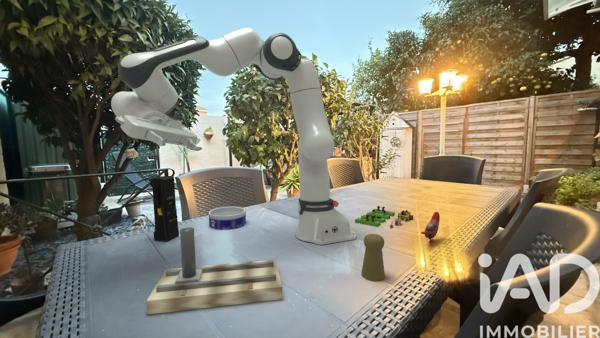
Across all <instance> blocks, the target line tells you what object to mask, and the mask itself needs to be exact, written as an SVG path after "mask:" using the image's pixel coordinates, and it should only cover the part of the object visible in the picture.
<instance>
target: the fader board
mask: <svg viewBox="0 0 600 338" xmlns="http://www.w3.org/2000/svg"><path fill="white" fill-rule="evenodd" d="M196 269H202V276H201V278H200V281H199V282H189V283H179V284H175V281H176V279H177V277H178V275H179V273H180V271H182V267H176V268H173V267H172V268H166V269H165V270H164V272H163V274H162V275H161V277H160V278H159V279H158V282H157V283H156V285H155V286H154V288H153V290H152V291H151V293H150V295H149V296H148V297H147V299H146V301H145V303H146V315H157V314H164V313H174V312H182V311H189V310H190V311H191V310H200V309H207V308H216V307H217V306H218V307H226V306H234V305H242V304H252V303H260V302H268V301H269V302H270V301H279V300H283V286H282V281H281V277H280V273H279V269H278V264H277V260H276V259H268V260H257V261H244V262H232V263H231V262H230V263H222V264H209V265H198V266H197V265H196ZM218 307H217V308H218Z"/></svg>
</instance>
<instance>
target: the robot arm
mask: <svg viewBox="0 0 600 338" xmlns="http://www.w3.org/2000/svg"><path fill="white" fill-rule="evenodd" d="M189 60H191V61H195V62H198V63H199V64H201V66H204V67H205V68H206V69H207V70H208V71H210V73H212V74H214V75H217V76H220V77H227V76H228V77H230V76H231V75H234V74H235V73H237V72H240V70H243V69H244V68H246V67H248V66H250V65H253V67H254V68H255V69H256V70H257V71H258V72H260V74H261V75H262V76H263V77H265V78H266V79H268V80H271V81H275V80H279V79H281V78H284V79H285V81H286V82H287V84H288V85H287V86H288V89H289V90H288V91H289V97H290V102H291V107H292V112H293V113H292V114H293V118H294V121H295V125H296V129H297V133H298V136H299V139H298V141H297V156H298V159H297V160H298V172H299V173H298V174H299V197H298V203H297V204H298V205H297V209H298V222H297V228H296V232H295V238H297V239H298V240H300V241H304V242H308V243H313V244H316V245H320V246H321V245H328V244H333V243H339V242H346V241H347V242H348V241H354V240H357V233H356V232H355V230H353V229H352V228H351V225H350V222H349V219H348V218H347V217H346V215H344V214H343V213H341V212H340V211H339V210H337V209H336V208H338V207H339V201H337V200H334V199H333V198H331V197H330V194H331V193H330V191H331V190H330V189H331V187H330V186H331V183H330V182H331V177H330V172H329V166H328V164H329V163H328V160H329V159H330V158H331V156H332V155H333V154H334V151H335V141H334V139H333V135H332V132H331V128H330V124H329V121H328V119H327V114H326V111H325V106H324V100H323V94H322V93H323V92H322V89H321V83H320V78H319V75H318V73H317V72H318V71H317V70H316V65H315V64H314V62H313V61H312V60H310V59H307V58H302V53H301V51H300V50H299V49H298V47H297V45H296V43H295V41H294V40H293V38H292V37H291V36H289V35H288V34H287V33H284V32H277V33H273V34H272V35H269V37H267V39H265V40H263V39H262V38H261V35H260V34H259V33H258V32H257V31H256V30H255V29H253V28H252V27H243V28H240V29H237V30H234V31H231V32H229V33H227V34H225V35H222V36H220V37H219V38H218V37H217V38H215V39H206V38H205V37H203V36H195V37H190V38H186V39H182V40H178V41H175V42H172V43H169V44H166V45H163V46H159V47H156V48H153V49H149V50H145V51H144V50H143V51H137V52H132V53H130V54H126V55H125V56H123V57H122V58H121V59H120V60H119V64H118V69H117V71H118V78H119V79H120V80H121V81H122V82H123V83H124V84H126V86H128V88H129V89H131V90H132V91H123V90H122V91H119V92H116V93H115V94H114V95H113V96H112V98H111V101H110V105H111V109H112V111H113V112H112V113H114V115H115V116H116V117H114V118H115V119H114V120H115V121H116V122H117V123H119V124H120V129H121V131H123V132H124V133H125V134H126V136H128V137H129V138H133V139H136V140H142V141H144V140H145V141H150V142H151V143H155V144H156V145H158V146H160V147H162V146H163V147H165V146H166V145H167V144H170V145H175V146H182V147H186V149H188V150H189V151H195V149H196V148H197V142H198V139H199V137H198V135H197V134H196V133H194V132H193V131H191V130H190V129H189V128H188V127H186V126H185V125H183V124H182V121H181V120H179V119H177V118H174V117H171V116H169V113H172V111H174V109H175V108H176V107H177V103H178V101H179V94H178V92H177V91H176V89H175V88H174V86H173V84H171V82H170V80H168V78H167V77H166V76H165V75H164V73H163V72H162V69H163V68H167V67H169V66H172V65H175V64H178V63H181V62H184V61H189Z"/></svg>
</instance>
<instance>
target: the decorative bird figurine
mask: <svg viewBox="0 0 600 338" xmlns="http://www.w3.org/2000/svg"><path fill="white" fill-rule="evenodd" d="M440 218H441V216H440V213H439V212H438V211H435V212H434V213H433V214H432V216H431V218H430V220H429V222H428V223H427V225H426V227H425V229H424V230H423V231H421V232H420V233H421V234H423V235H424V237H425V238H427V239H428V240H429V242H428V243H429V244H431V243H432V241H433V242H434V240H435V239H434V238H435V237H436V236H437V234H438V231H439V227H440ZM430 242H431V243H430Z"/></svg>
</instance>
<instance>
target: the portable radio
mask: <svg viewBox="0 0 600 338" xmlns="http://www.w3.org/2000/svg"><path fill="white" fill-rule="evenodd" d="M167 170H168V169H165V175H161V176H158V177H152V178H149V185H150V187H151V188H152V202H153V216H154V231H153V240H154V241H161V242H168V241H170V240H172V239H174V238H176V237H177V236H180V230H179V223H178V212H177V211H178V209H177V203H176V189H175V186H176V185H175V176H173V175H168V172H167Z"/></svg>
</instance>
